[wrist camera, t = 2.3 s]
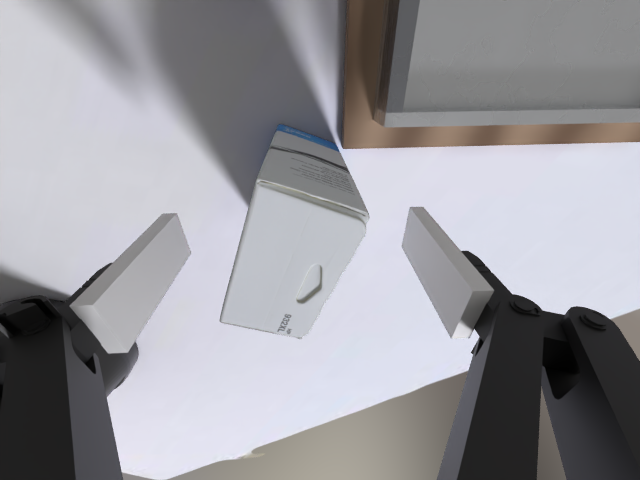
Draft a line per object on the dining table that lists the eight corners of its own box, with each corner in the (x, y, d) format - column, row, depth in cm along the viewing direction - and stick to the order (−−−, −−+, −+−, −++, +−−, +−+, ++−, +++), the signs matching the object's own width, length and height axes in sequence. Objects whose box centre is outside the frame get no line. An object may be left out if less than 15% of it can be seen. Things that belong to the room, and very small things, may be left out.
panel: (341, 145, 20) (343, 148, 19) (356, -243, 11) (360, -269, 10) (630, 138, 21) (644, 141, 20) (858, -218, 12) (900, -239, 11)
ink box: (278, 120, 18) (253, 174, 9) (339, 144, 20) (378, 216, 10) (251, 217, 23) (214, 327, 13) (303, 232, 24) (305, 343, 14)
